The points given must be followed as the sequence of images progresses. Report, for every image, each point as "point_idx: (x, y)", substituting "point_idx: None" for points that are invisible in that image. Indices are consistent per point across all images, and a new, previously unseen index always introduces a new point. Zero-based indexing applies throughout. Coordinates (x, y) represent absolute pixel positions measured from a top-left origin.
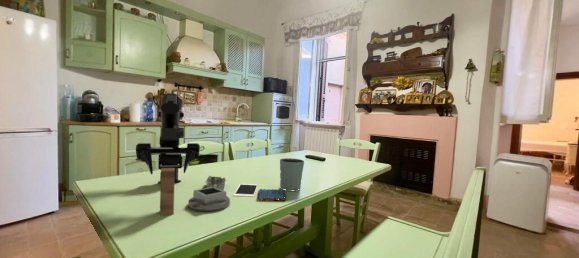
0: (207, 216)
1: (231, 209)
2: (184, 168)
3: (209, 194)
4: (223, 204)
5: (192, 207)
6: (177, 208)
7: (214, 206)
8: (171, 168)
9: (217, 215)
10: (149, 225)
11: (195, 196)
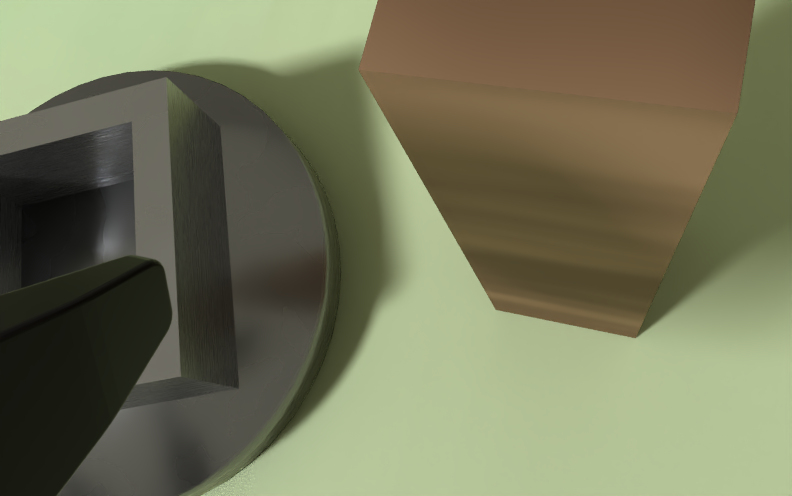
0: (273, 13)
1: (46, 83)
2: (95, 276)
3: (97, 124)
4: (65, 95)
5: (321, 202)
6: (449, 330)
7: (153, 76)
8: (456, 20)
9: (198, 3)
10: (778, 3)
11: (211, 324)
